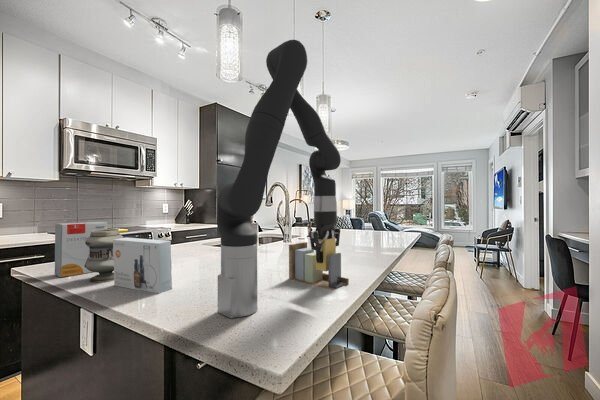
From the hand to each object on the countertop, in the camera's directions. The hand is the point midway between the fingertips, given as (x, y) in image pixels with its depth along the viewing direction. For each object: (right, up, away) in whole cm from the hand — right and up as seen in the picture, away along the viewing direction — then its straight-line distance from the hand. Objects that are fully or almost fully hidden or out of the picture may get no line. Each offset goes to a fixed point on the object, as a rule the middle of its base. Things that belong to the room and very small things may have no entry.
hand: (325, 261), depth 93 cm
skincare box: (-60, -9, 0) cm, 61 cm away
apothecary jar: (-80, -9, +11) cm, 81 cm away
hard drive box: (-96, -9, +20) cm, 98 cm away
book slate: (-7, -7, +6) cm, 12 cm away
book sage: (-4, -7, +3) cm, 9 cm away
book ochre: (0, -3, 0) cm, 3 cm away
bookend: (+3, -7, -3) cm, 8 cm away
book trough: (-2, -8, +2) cm, 9 cm away
